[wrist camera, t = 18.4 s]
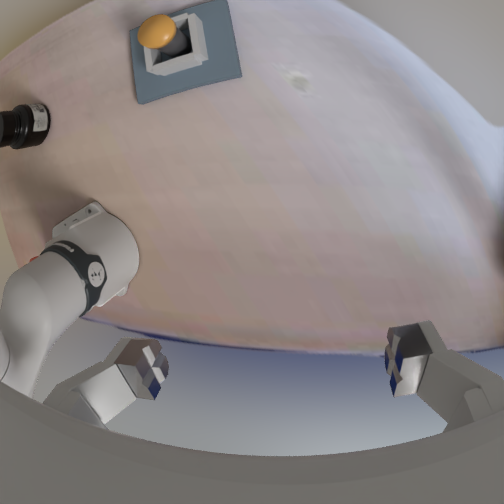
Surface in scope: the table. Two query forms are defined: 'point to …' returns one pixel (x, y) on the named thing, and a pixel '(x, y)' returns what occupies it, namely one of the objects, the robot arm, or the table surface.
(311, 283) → the table surface
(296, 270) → the table surface
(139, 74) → the mount
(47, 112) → the ink bottle
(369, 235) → the table surface
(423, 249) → the table surface
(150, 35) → the knob
